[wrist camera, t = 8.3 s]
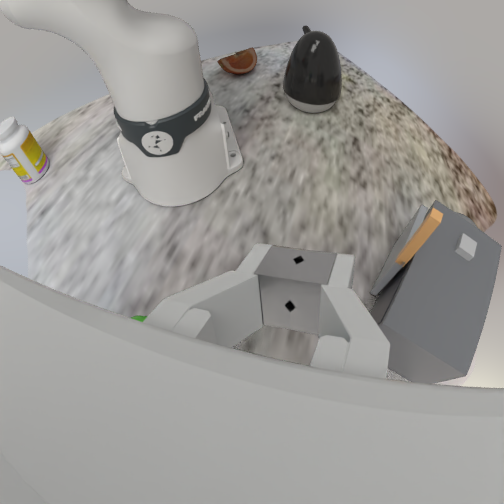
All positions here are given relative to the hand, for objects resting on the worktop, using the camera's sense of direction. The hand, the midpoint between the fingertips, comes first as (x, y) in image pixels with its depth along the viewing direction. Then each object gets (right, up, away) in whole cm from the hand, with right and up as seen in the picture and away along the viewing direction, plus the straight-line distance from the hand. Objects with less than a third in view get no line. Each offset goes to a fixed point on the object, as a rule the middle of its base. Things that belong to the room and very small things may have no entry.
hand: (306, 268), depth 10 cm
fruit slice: (-5, +38, +50) cm, 63 cm away
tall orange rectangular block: (+15, -2, +27) cm, 31 cm away
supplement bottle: (-43, +16, +39) cm, 60 cm away
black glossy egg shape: (+9, +27, +44) cm, 52 cm away
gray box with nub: (+19, -6, +26) cm, 33 cm away
